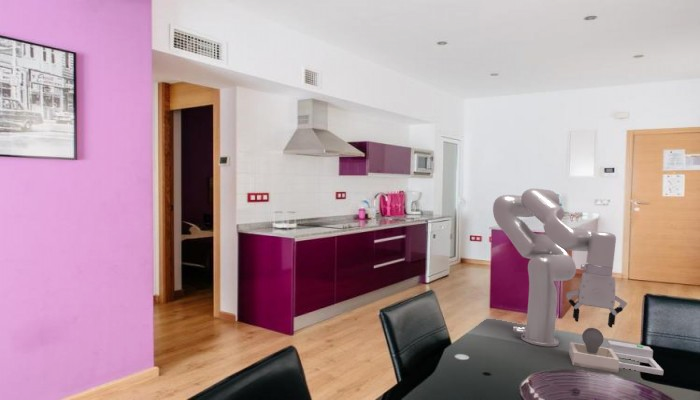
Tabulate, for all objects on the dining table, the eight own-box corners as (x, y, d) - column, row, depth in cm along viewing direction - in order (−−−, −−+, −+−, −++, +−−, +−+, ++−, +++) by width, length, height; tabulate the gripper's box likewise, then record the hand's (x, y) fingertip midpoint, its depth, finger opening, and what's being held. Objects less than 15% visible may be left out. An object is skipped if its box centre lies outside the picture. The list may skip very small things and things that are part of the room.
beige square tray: (573, 365, 143) (573, 352, 143) (568, 353, 155) (569, 341, 155) (618, 373, 139) (619, 360, 139) (610, 360, 150) (611, 348, 150)
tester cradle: (616, 367, 144) (617, 352, 144) (606, 351, 160) (607, 338, 160) (663, 375, 140) (664, 360, 140) (648, 358, 156) (649, 344, 156)
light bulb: (605, 363, 143) (606, 331, 143) (584, 361, 145) (585, 329, 145) (598, 357, 149) (600, 326, 149) (578, 355, 150) (580, 324, 151)
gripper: (570, 268, 146) (564, 321, 147) (632, 276, 140) (626, 332, 141) (567, 265, 153) (562, 315, 154) (627, 273, 147) (621, 325, 148)
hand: (592, 323), depth 147 cm, fingers open, 9 cm apart
